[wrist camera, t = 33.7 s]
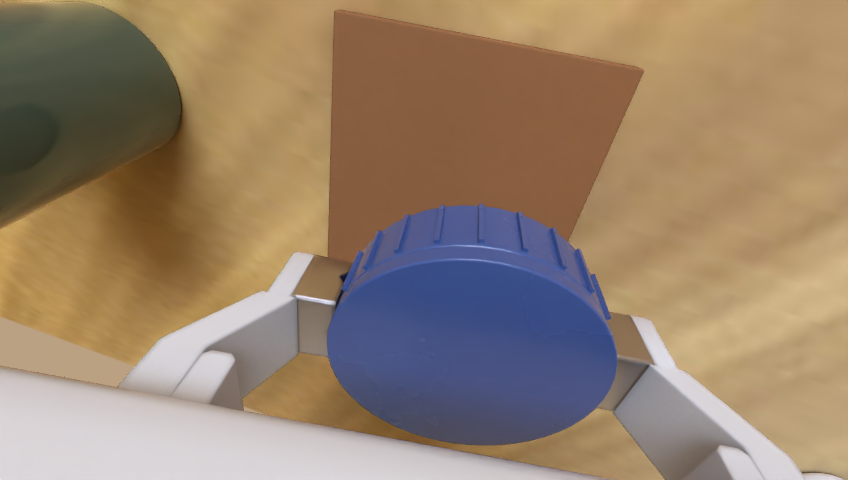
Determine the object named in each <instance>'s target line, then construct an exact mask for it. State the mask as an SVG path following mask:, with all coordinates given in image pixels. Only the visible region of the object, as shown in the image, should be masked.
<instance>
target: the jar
mask: <svg viewBox="0 0 848 480" xmlns="http://www.w3.org/2000/svg"><path fill="white" fill-rule="evenodd" d="M180 118H181V101H180V95H179V91H178V87H177V84H176V81H175V79H174V77H173V74H172V72H171V70H170V68H169V66H168V65H167V63H166V61H165V60H164V58H163V57H162V55H161V54H160V52H159V51H158V50H157V48H156V47H155V46H154V45H153V43H152V42H151V41H150V40H149V39H148V38H147V37H146V36H145V35H144V34H143V33H142V32H141V31H140V30H139V29H137V28H136V27H135V26H134V25H133V24H131V23H130V22H129V21H127V20H126V19H124V18H123V17H121V16H119V15H118V14H116V13H114V12H112V11H110V10H108V9H106V8H104V7H101V6H98V5H95V4H92V3H87V2H80V1H61V2H23V3H0V229H2V228H4V227H6V226H8V225H10V224H12V223H14V222H16V221H18V220H20V219H22V218H24V217H26V216H28V215H29V214H31V213H33V212H35V211H37V210H39V209H41V208H43V207H45V206H47V205H49V204H51V203H53V202H55V201H57V200H59V199H61V198H63V197H65V196H66V195H68V194H70V193H72V192H74V191H76V190H78V189H80V188H82V187H84V186H86V185H88V184H90V183H92V182H94V181H96V180H98V179H100V178H102V177H104V176H105V175H107V174H109V173H111V172H113V171H115V170H117V169H119V168H121V167H123V166H125V165H127V164H129V163H131V162H133V161H135V160H137V159H139V158H141V157H142V156H144V155H146V154H148V153H150V152H152V151H154V150H156V149H158V148H160V147H162V146H163V145H165V144H166V143H168V142H169V141H170V140H171V139H172V137H173V136H174V134H175V133H176V131H177V128H178V126H179V122H180Z"/></svg>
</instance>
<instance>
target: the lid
mask: <svg viewBox="0 0 848 480" xmlns="http://www.w3.org/2000/svg"><path fill="white" fill-rule="evenodd" d="M341 290H343V293H342V295H341V298H340V300H339V302H338V305H337V307H336V309H335V311H334V314H333V316H332V319H331V321H330V324H329V327H328V333H327V353H328V358H329V361H330V365H331V367H332V369H333V372H334V374H335V376H336V378H337V379H338V381H339V382H340V384H341V385H342V387H343V388H344V389H345V390H346V391H347V392H348V394H349V395H350V396H351V397H352V398H353V399H354V400H355V401H357V402H358V403H359V404H360V405H361V406H362V407H364V408H365V409H366V410H368V411H369V412H370V413H372V414H373V415H375V416H377V417H378V418H380V419H382V420H383V421H385V422H387V423H389V424H391V425H393V426H395V427H398V428H400V429H403V430H405V431H408V432H410V433H413V434H416V435H419V436H422V437H426V438H430V439H434V440H438V441H444V442H449V443H456V444H465V445H505V444H515V443H521V442H526V441H531V440H535V439H539V438H543V437H546V436H549V435H552V434H555V433H557V432H560V431H562V430H564V429H566V428H568V427H570V426H572V425H574V424H575V423H577V422H579V421H580V420H582V419H584V418H585V417H586V416H587V415H589V414H590V413H591V412H592V411H593V410H595V409H596V407H597V406H598V405H599V404H600V403H601V402H602V401H603V400H604V398H605V397H606V395H607V394H608V392H609V390H610V389H611V386H612V384H613V381H614V379H615V375H616V369H617V364H618V363H617V349H616V345H615V341H614V337H613V334H612V332H611V329H610V326H609V324H608V321H607V320H609V319H611V316H610V313H609V311H608V308H607V305H606V303H605V300H604V297H603V295H602V292H601V289H600V287H599V284H598V281H597V279H596V276H595V274H593V275H591V274H590V272H589V270H588V268H587V266H586V263H585V261H584V258H583V255H582V252H581V251H580V249H577V250H575V249H574V248H573V247H572V246H571V245H570V244H569V243H568V242H567V241H566V240H565V239H564V238H563V237H561V236H560V235H559V234H558V233H557V230H556V229H555V228H554V227H552V228H551V229H550V228H548V227H547V226H545V225H543V224H541V223H539V222H538V221H536V220H533V219H531V218H528V217H526V216H523V213H522V212H519V211H518V212H517V213H515V212H511V211H507V210H504V209H500V208H493V207H486V206H484V204H479V206H471V205H459V206H447V207H445V205H440V207H439V208H435V209H430V210H425V211H422V212H419V213H416V214H413V215H409V214H407V215H404V218H403V219H402V220H400V221H398V222H396V223H394V224H392V225H391V226H389V227H388V228H386V229H385V230H383V231H382V232H381V231H380V230H378V231H377V232H376V234H375V237H374V239H372V240H371V241H370V242H369V244H368V245H367V246H366V247H365V249H364V250H363V251H362V252H361V251H358V253H357V255H356V257H355V259H354V261H353V264H352V266H351V268H350V270H349V273H348V275H347V277H346V279H345V282H344V284H343V286H342V288H341Z"/></svg>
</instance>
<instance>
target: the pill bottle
mask: <svg viewBox="0 0 848 480" xmlns="http://www.w3.org/2000/svg"><path fill="white" fill-rule="evenodd" d="M802 475H803V476H804V478H805V479H806V480H844V479H842V478H839V477H837V476H834V475H830V474H824V473H802Z"/></svg>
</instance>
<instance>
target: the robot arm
mask: <svg viewBox="0 0 848 480" xmlns="http://www.w3.org/2000/svg"><path fill="white" fill-rule="evenodd" d="M352 264H353V263H352V262H347V261H342V260H338V259H333V258H328V257H324V256H319V255H313V254H308V253H303V252H299V251H296V252H295V253H293V254H292V255H291V257H290V258H289V260H288V261H287V263H286V264H285V266H284V267H283V269H282V270H281V272H280V273H279V275H278V276H277V278H276V279H275V281H274V282H273V284H272V285H271V287H270V288H269V290H268V291H267V292H265V291H260V292H257V293H255V294H253V295H251V296H249V297H247V298H245V299H243V300H240V301H238V302H236V303H234V304H232V305H230V306H228V307H226V308H223V309H221V310H219V311H217V312H215V313H213V314H211V315H209V316H206V317H204V318H202V319H200V320H198V321H196V322H194V323H191V324H189V325H187V326H185V327H183V328H181V329H179V330H177V331H174V332H172V333H170V334H168V335H166V336H164V337H162V338H160V339H159V340H158V341H157V342H156V343H155V345H154V346H153V347H152V348H151V349H150V350H149V351H148V352H147V354H146V355H145V356H144V357H143V358H142V359H141V360H140V361H139V363H138V364H137V365H136V366H135V367H134V368H133V369H132V371H131V372H130V373H129V374H128V375H127V376H126V377H125V378H124V380H123V381H122V382H121V383H120V384H119V385H118V386H117V387H113V386H108V385H102V384H97V383H91V382H86V381H80V380H75V379H69V378H65V377H59V376H54V375H48V374H43V373H38V372H32V371H27V370H21V369H16V368H10V367H5V366H0V480H615V479H609V478H604V477H598V476H593V475H588V474H582V473H577V472H571V471H566V470H560V469H555V468H549V467H544V466H539V465H533V464H528V463H522V462H517V461H512V460H506V459H501V458H496V457H490V456H485V455H480V454H474V453H469V452H463V451H458V450H453V449H447V448H442V447H437V446H431V445H426V444H420V443H415V442H410V441H404V440H399V439H394V438H388V437H383V436H377V435H372V434H367V433H361V432H356V431H350V430H345V429H340V428H334V427H329V426H323V425H318V424H313V423H307V422H302V421H296V420H291V419H286V418H280V417H275V416H270V415H264V414H259V413H253V412H247V411H244V409H243V402H242V398H244V397H245V396H246V395H247V394H249V393H250V392H251V391H253V390H254V389H255V388H256V387H258V386H259V385H260V384H261V383H263V382H264V381H265V380H266V379H268V378H269V377H270V376H271V375H273V374H274V373H275V372H277V371H278V370H279V369H280V368H282V367H283V366H284V365H285V364H287V363H288V362H289V361H290V360H292V359H293V358H294V357H296V356H297V355H298V352H299V353H305V354H312V355H318V356H324V357H328V353H327V333H328V327H329V324H330V321H331V319H332V316H333V314H334V311H335V309H336V307H337V305H338V302H339V300H340V298H341V295H342V293H343V290H341V288H342V286H343V284H344V282H345V279H346V277H347V275H348V273H349V270H350V268H351V266H352ZM609 313H610V316H611V319H609V320H607V321H608V324H609V326H610V329H611V332H612V334H613V337H614V341H615V345H616V349H617V363H618V364H617V369H616V375H615V379H614V381H613V384H612V386H611V389H610V390H609V392H608V394H607V395H606V397H605V398H604V400H603V401H602V402H601V403H600V404H599V405H598V406H597V407H596V408H600V409H604V410H609V411H614V412H613V414H614V415H615V416H616V418H617V419H618V420H619V421H620V423H621V424H622V425H623V427H624V428H625V429H626V430H627V432H628V433H629V434H630V435H631V437H632V438H633V439H634V441H635V442H636V443H637V444H638V446H639V447H640V448H641V449H642V451H643V452H644V453H645V454H646V456H647V457H648V458H649V460H650V461H651V462H652V463H653V465H654V466H655V467H656V468H657V470H658V471H659V472H660V474H661V475H662V476H663V477H664V479H665V480H806V479H805V478H804V476H803V475H802V473H801V472H800V470H799V469H798V468H797V466H796V465H795V463H794V462H793V460H792V459H791V457H790V456H788V455H787V454H786V453H785V452H784V451H782V450H781V449H780V448H779V447H777V446H776V445H775V444H774V443H773V442H771V441H770V440H769V439H768V438H766V437H765V436H764V435H763V434H762V433H760V432H759V431H758V430H757V429H755V428H754V427H753V426H752V425H750V424H749V423H748V422H747V421H746V420H744V419H743V418H742V417H741V416H739V415H738V414H737V413H736V412H735V411H733V410H732V409H731V408H730V407H728V406H727V405H726V404H725V403H724V402H722V401H721V400H720V399H719V398H717V397H716V396H715V395H714V394H712V393H711V392H710V391H709V390H708V389H706V388H705V387H704V386H703V385H701V384H700V383H699V382H698V381H697V380H695V379H694V378H693V377H692V376H690V375H689V374H688V373H687V372H686V371H683V370H678V368H677V366H676V364H675V362H674V361H673V359H672V357H671V355H670V354H669V352H668V350H667V348H666V346H665V345H664V343H663V341H662V339H661V338H660V336H659V334H658V332H657V330H656V329H655V327H654V325H653V323H652V322H651V321H650V320H649V319H648V318H645V317H639V316H633V315H624V314H619V313H613V312H609Z"/></svg>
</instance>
